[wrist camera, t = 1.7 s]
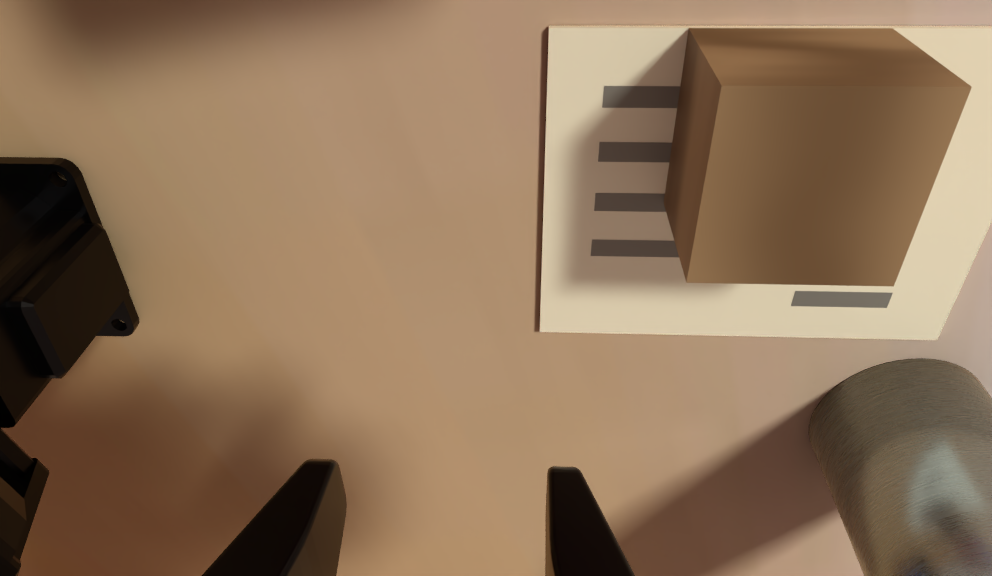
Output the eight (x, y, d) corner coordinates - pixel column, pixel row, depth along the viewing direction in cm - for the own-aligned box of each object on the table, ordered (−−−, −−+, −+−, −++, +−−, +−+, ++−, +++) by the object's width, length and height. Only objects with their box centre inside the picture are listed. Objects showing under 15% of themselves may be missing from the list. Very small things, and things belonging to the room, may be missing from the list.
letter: (539, 328, 24) (539, 332, 24) (548, 25, 18) (548, 27, 18) (934, 336, 24) (937, 340, 23) (1075, 25, 18) (1081, 28, 17)
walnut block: (663, 202, 21) (686, 282, 18) (688, 27, 18) (722, 85, 15) (837, 205, 21) (893, 286, 17) (892, 28, 18) (972, 86, 14)
